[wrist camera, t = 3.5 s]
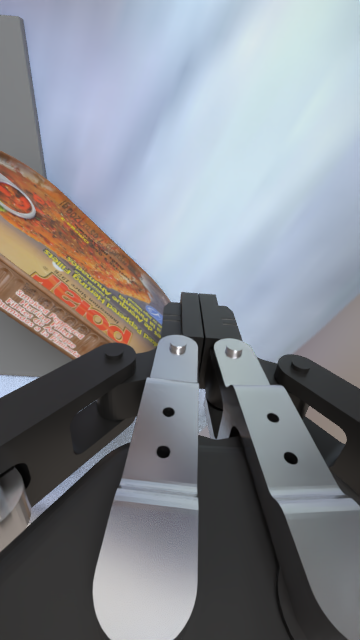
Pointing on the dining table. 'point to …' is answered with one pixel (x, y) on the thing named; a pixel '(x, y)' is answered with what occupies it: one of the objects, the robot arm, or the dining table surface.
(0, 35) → the mat
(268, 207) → the dining table surface
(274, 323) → the dining table surface
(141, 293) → the tin
